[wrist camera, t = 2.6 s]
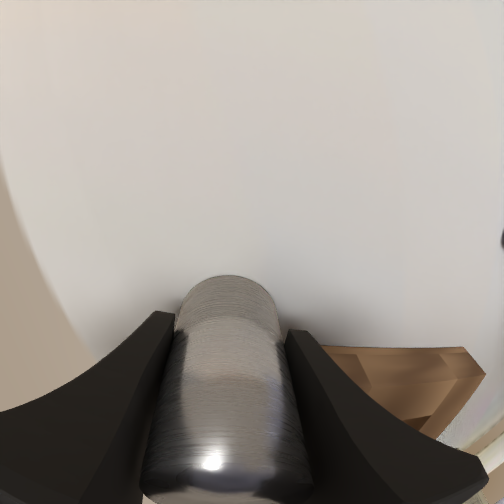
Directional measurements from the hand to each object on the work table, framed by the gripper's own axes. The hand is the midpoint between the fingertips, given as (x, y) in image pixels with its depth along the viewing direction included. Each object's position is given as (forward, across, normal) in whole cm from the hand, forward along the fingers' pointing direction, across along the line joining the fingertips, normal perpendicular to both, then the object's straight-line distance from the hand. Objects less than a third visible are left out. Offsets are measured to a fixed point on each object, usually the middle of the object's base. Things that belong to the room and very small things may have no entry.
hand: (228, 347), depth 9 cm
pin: (+2, 0, 0) cm, 2 cm away
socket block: (+2, -8, +6) cm, 10 cm away
